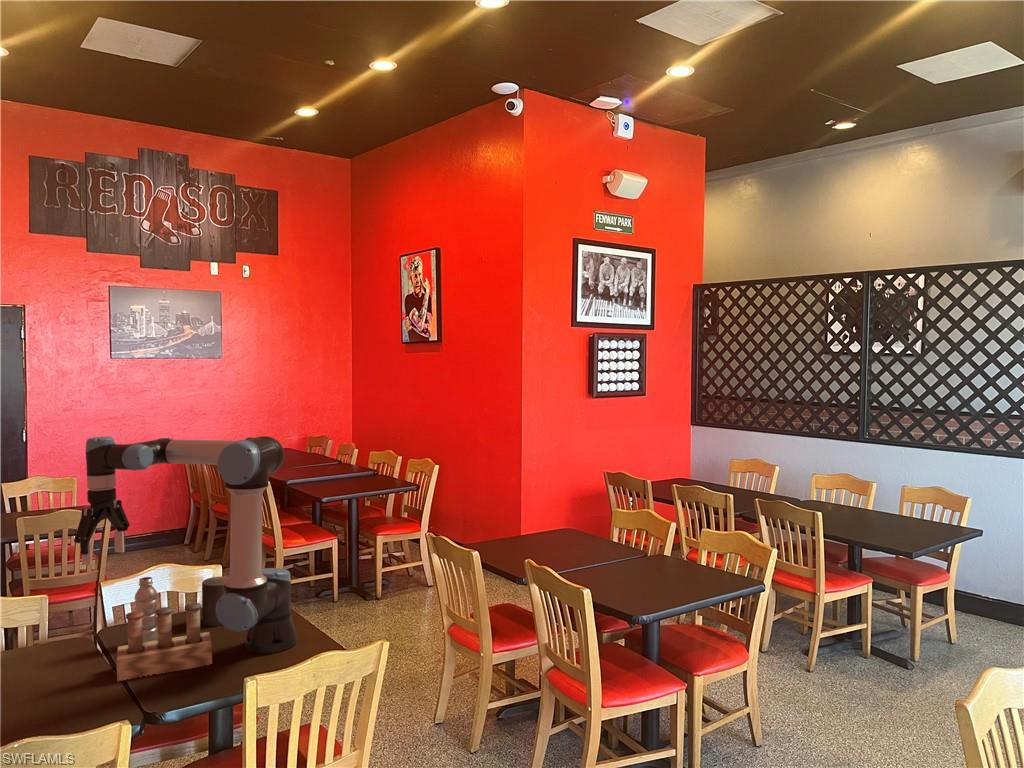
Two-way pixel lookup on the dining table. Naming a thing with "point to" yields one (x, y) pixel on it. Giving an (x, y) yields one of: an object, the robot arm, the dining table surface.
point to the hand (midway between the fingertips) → (103, 558)
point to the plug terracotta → (135, 632)
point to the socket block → (164, 657)
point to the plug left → (193, 622)
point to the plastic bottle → (147, 608)
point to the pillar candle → (211, 599)
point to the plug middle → (164, 627)
